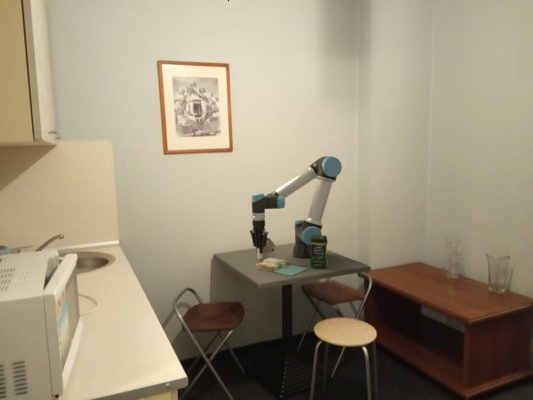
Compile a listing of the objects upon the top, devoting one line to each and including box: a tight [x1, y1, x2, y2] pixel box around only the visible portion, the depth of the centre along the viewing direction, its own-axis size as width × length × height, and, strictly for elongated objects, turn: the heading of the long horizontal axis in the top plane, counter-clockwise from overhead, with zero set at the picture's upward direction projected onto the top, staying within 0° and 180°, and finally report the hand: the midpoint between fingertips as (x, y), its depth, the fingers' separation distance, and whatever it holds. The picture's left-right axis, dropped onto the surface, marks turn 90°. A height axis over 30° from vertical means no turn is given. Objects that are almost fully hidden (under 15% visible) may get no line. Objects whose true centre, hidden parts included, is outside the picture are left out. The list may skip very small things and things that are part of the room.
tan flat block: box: [255, 258, 290, 273], centre depth 233 cm, size 16×12×2 cm
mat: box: [272, 264, 309, 277], centre depth 225 cm, size 16×13×1 cm
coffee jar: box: [310, 235, 328, 269], centre depth 230 cm, size 10×8×19 cm
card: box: [263, 257, 283, 265], centre depth 233 cm, size 6×9×2 cm, turn 50°
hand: (259, 258), depth 239 cm, fingers closed
